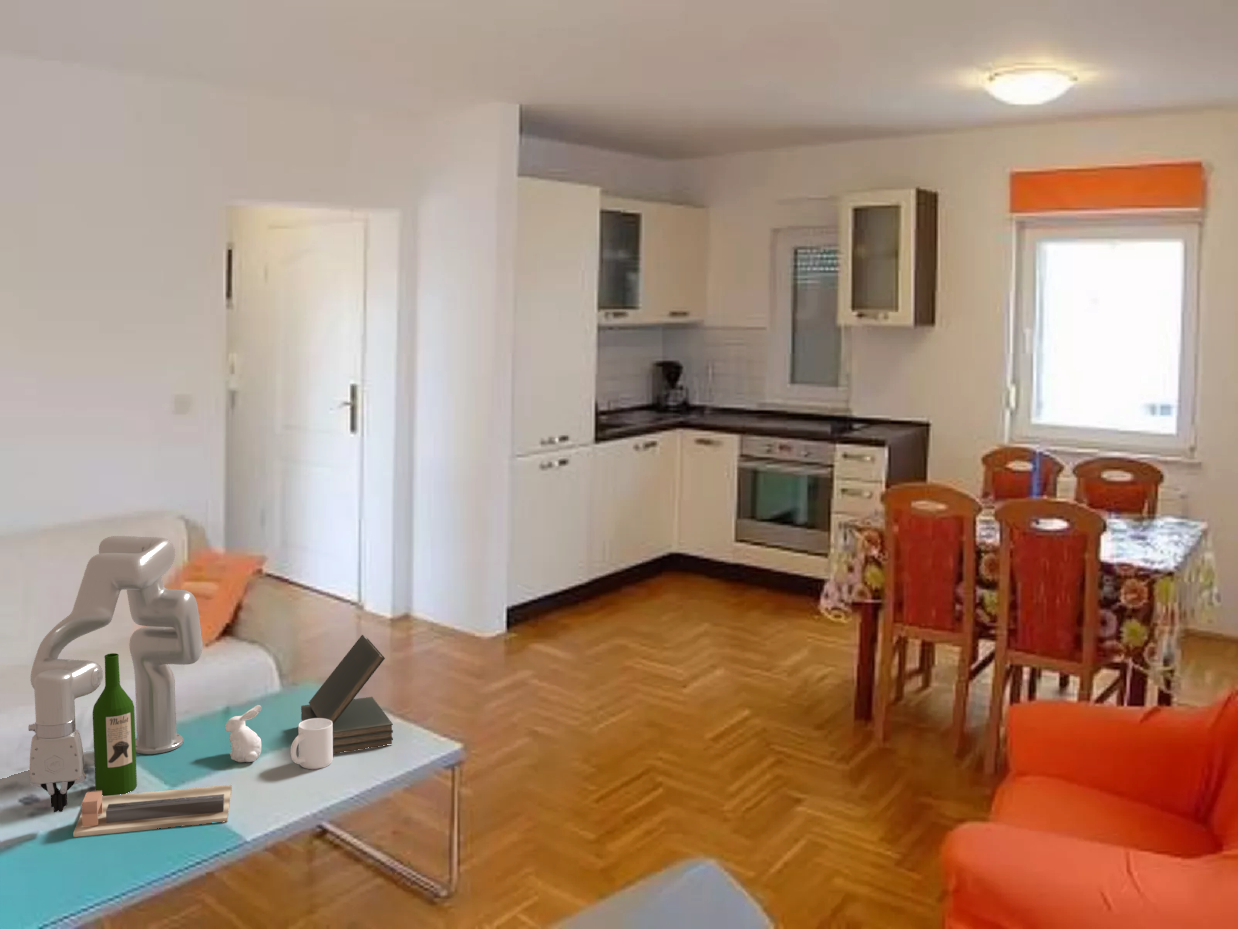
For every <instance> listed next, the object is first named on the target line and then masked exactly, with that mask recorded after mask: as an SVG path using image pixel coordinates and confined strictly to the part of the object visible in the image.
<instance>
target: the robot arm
mask: <svg viewBox="0 0 1238 929" xmlns="http://www.w3.org/2000/svg"><path fill="white" fill-rule="evenodd" d="M175 550H176V549H175V546H174V544H173V542H171V540H169V539H167V538H165V537H157V536H155V537H154V536H152V537H151V536H150V537H149V536H132V535H131V536H129V535H128V536H127V535H126V536H125V535H111V536H107V537H105V538H104V539H103V540H101V541H100V543H99V545H98V554H95V555H93V556H91V558H90V559H89V560H88V562H87V564H86V568H85V570H84V573H83V577H82V579H81V583H80V586H79V589H78V592H77V595H76V598H75V601H74V604H73V608H72V611H71V612H70V614H68V615H67V616H66V617H64V618H63V619H62V620H61V621H59V622H58V623H57V624H56V625H55V626H54V627H52V629H51V630H50V631H49V632H48V633H47V634H46V635H45V636H44V638H43V639H42V640H41V642H40V643H39V646H38V647H37V651H36V655H35V656H34V659H33V660H34V661H33V664H32V668H31V672H30V684H31V687H32V688H33V690H34V710H35V711H34V712H35V713H34V714H35V722H34V723H32V724H28V731H29V732H34V735H33V736H32V737H31V742H30V748H29V749H30V751H29V781H30V782H29V785H30V786H32V787H35V788H36V787H37V788H42V789H43V790H44V791H46V792H47V793H48V795H50V796H49V797H50V808H53V813H57V812H59V813H62V812H63V811H64V809H65V807H67V806H68V803H69V802H68V791H69V790H70V789H71V788H73V786H74V785H77V784H80V783H83V782H85V780H86V779H87V776H86V773H85V754H84V748H83V742H82V737H81V733H80V731H79V730H78V729H76V709H75V708H76V705H75V702H76V701H75V700H76V699H77V698H81V697H84V696H87V695H90V694H92V693H94V692H95V691H96V690H97V689H98V688H99V687H100V685H101V684H102V682H103V679H104V678H103V677H104V672H103V668H102V667H101V665H100V664H99V663H98V662H96V661H93V660H90V659H89V660H88V659H87V660H86V659H66V658H59V656H60V654H61V653H62V652H63V650H64V648H66V646H68V645H69V644H70V643H71V642H73V641H75V640H76V639H78V638H80V637H83V636H85V635H86V634H90V633H92V632H94V631H97V630H100V629H102V628H105V627H106V626H108V625H109V624H110V623H111V622H112V620H113V617H114V613H115V610H116V607H117V603H118V599H119V597H120V593H121V591H123V590H126V594H127V595H126V596H127V600H128V605H129V607H128V608H129V611H130V616H131V619H132V621H133V622H134V623H135V624H137V625H138V626H141V627H139V628H138V629H136V630H134V632H133V633H132V634H131V635H130V639H129V643H128V645H129V653H130V656H131V660H132V661H131V662H132V664H133V674H134V686H135V687H134V688H135V689H134V690H135V692H134V693H135V715H136V716H135V719H136V720H135V725H136V737H135V743H136V754H140V755H141V754H142V755H155V754H157V755H158V754H162V753H167V752H170V751H174V750H175V749H178V748H179V747H181V746H182V745H183V743H184V737H183V736H182V735H181V734H179V733H178V732H177V706H176V705H177V704H176V702H177V701H176V679H175V678H176V677H175V675H174V672H173V670H172V669H171V667H170V665H181V666H182V665H184V666H185V665H192V664H195V663H197V662H198V661H199V660H200V658H201V656H202V654H203V635H202V634H203V633H202V627H201V620H200V613H199V606H198V602H197V599H196V597H195V595H194V594H193V593H192V592H191V591H189V590H186V589H179V588H176V589H175V588H166V587H165V585H164V582H163V576H164V575H165V574H167V573H168V571H169V570H170V569H171V568H172V567H173V566H172V565H173V564H174V562H175V556H176V551H175ZM57 783H60V789H59V788H58V786H57Z"/></svg>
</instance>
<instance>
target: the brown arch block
mask: <svg viewBox="0 0 1238 929" xmlns="http://www.w3.org/2000/svg"><path fill="white" fill-rule="evenodd" d="M102 813H103V807H102V790H99V791H96V790H89V791H86V793H85V795H84V798H83V800H82V801H81V814H82V824H83V827H84V826H94V825H98V814H102Z"/></svg>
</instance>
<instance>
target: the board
mask: <svg viewBox="0 0 1238 929" xmlns="http://www.w3.org/2000/svg"><path fill="white" fill-rule="evenodd" d="M232 785H233V784H226V785H223V784H222V785H215V786H213V785H212V786H202V787H191V788H179V789H169V790H168V789H167V790H157V791H147V792H146V791H145V792H133V793H127V794H121V795H110V796H102V807H103V813H102V814H98V825H94V826H84V827H83V824H82V813H81V814H80V816H79V818H78V821H77V823H76V826H75V827H74V830H73V832H72V833H73V838H78V837H89V836H98V835H109V834H118V833H128V832H129V833H130V832H141V831H150V830H160V829H159V828H161V829H169V828H168V827H171V828H176V827H175V826H181V827H183V826H182V825H192V826H199V824H202V825H207V824H206V823H212V822H222V823H224V822H223V821H227V822H228V819H229V812H230V806H229V805H230V804H231V797H232V791H233V790H232V789H233V786H232ZM221 794H224V797H221V798H210V799H200V800H189V801H178V802H167V803H156V804H145V805H134V806H123V807H113V808H107V807H108V805H109V804H118V803H129V802H141V801H152V800H164V799H175V798H186V797H198V796H209V795H221ZM212 824H213V823H212ZM157 828H158V829H157Z"/></svg>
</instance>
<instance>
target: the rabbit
mask: <svg viewBox="0 0 1238 929" xmlns="http://www.w3.org/2000/svg"><path fill="white" fill-rule="evenodd" d="M261 711H262V706H261V705H260V704H257V705H255V706H253V707H251V709H249V710H248V711H246V712H245V713H243V714H242V715H235V716H232V717H230V718H229V719H228V720H227V722H226V723H225V725H224V728H225V731H226V732H228V733H230V734H229V742H230V747H231V752H230V753H229V756H230V759H231V760H233V761H234V762H235V761H236V762H238V763H245V762H246V763H251V762H254V761H257V759H259V757H260V755H261V753H262V739H261V737H259V736H258V734H257V733H256V732H255V731H254V730H252V729H251V728H250V727H249V726H247V725H246V721H248V720H251V719H254V718H255V717H257V715H258V714H259V713H260V712H261Z"/></svg>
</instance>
